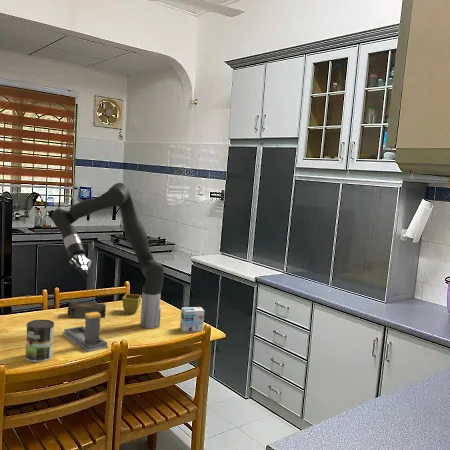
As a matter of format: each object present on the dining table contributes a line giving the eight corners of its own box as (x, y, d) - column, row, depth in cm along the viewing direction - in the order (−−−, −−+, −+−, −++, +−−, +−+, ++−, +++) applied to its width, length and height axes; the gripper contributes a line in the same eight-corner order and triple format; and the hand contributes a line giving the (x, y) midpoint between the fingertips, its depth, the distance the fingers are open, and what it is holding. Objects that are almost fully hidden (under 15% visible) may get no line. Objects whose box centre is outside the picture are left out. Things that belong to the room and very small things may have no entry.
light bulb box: (183, 332, 227) (184, 311, 226) (179, 327, 234) (180, 307, 232) (203, 331, 231) (205, 310, 230) (199, 326, 238) (200, 306, 236)
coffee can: (40, 364, 179) (41, 329, 178) (19, 358, 183) (20, 324, 181) (58, 355, 189) (59, 322, 187) (38, 350, 192) (39, 317, 191)
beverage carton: (105, 318, 239) (106, 306, 239) (66, 318, 234) (67, 306, 234) (105, 313, 247) (106, 301, 246) (68, 313, 242) (68, 301, 241)
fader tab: (83, 342, 201) (85, 313, 199) (95, 340, 204) (96, 311, 203) (87, 345, 198) (89, 315, 196) (99, 343, 202) (100, 314, 200)
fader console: (63, 334, 212) (63, 329, 211) (83, 330, 218) (83, 325, 218) (86, 352, 194) (86, 346, 194) (107, 347, 201) (108, 342, 200)
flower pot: (137, 315, 248) (138, 299, 247) (121, 314, 248) (122, 297, 247) (140, 310, 257) (141, 294, 256) (125, 309, 257) (126, 293, 256)
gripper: (79, 250, 226) (91, 281, 220) (58, 249, 214) (70, 282, 209) (89, 242, 223) (101, 273, 218) (68, 241, 212) (81, 274, 206)
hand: (86, 277), depth 213 cm, fingers closed
